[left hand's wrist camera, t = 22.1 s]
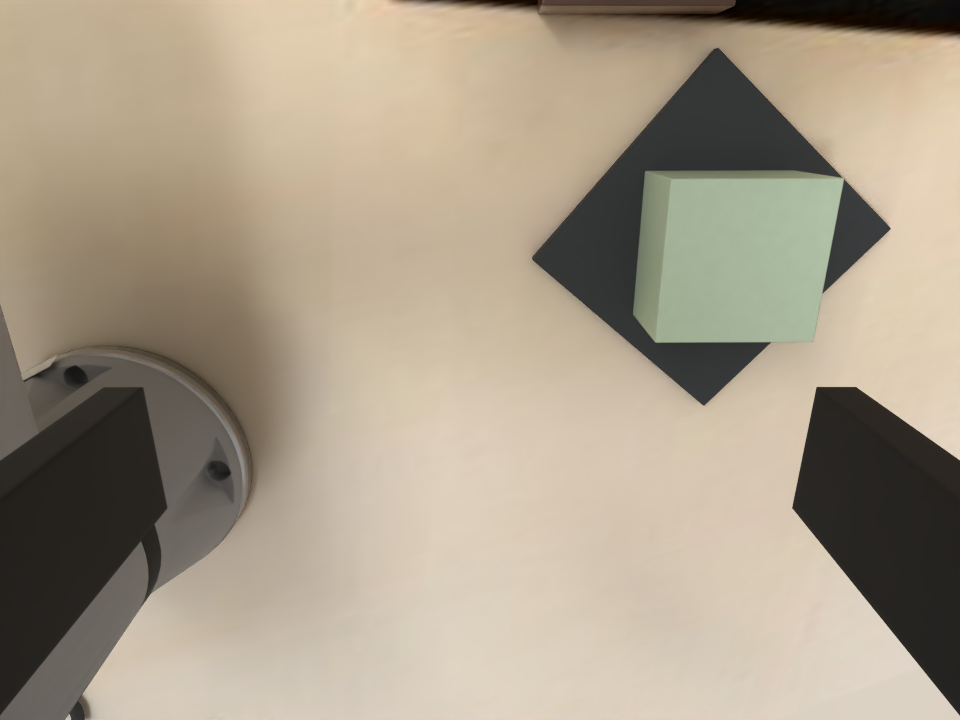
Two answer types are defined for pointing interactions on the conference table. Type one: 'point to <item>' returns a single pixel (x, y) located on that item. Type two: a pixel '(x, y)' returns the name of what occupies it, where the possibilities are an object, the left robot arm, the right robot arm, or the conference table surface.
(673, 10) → the stand
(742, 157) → the mat
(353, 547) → the conference table surface
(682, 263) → the pale green block
